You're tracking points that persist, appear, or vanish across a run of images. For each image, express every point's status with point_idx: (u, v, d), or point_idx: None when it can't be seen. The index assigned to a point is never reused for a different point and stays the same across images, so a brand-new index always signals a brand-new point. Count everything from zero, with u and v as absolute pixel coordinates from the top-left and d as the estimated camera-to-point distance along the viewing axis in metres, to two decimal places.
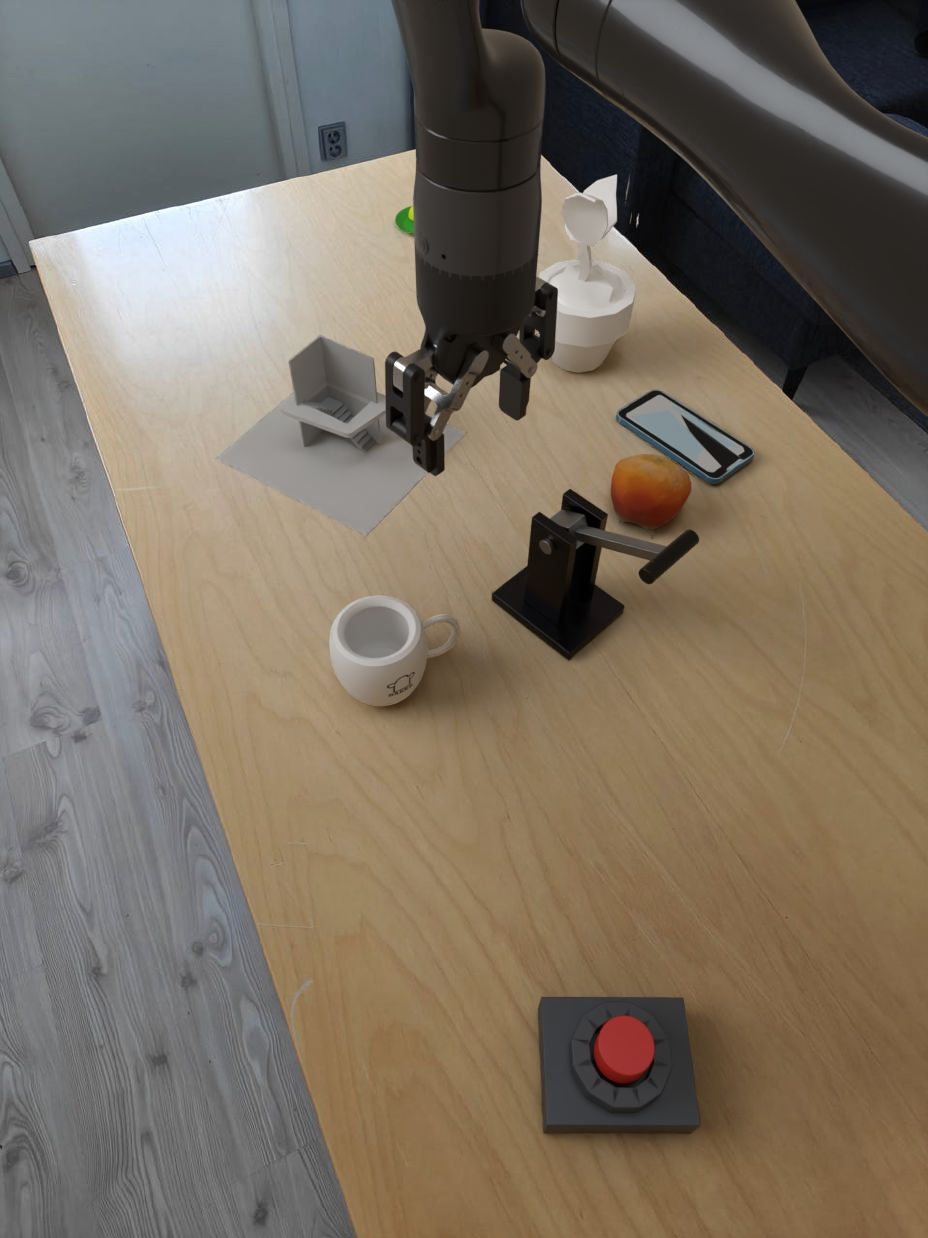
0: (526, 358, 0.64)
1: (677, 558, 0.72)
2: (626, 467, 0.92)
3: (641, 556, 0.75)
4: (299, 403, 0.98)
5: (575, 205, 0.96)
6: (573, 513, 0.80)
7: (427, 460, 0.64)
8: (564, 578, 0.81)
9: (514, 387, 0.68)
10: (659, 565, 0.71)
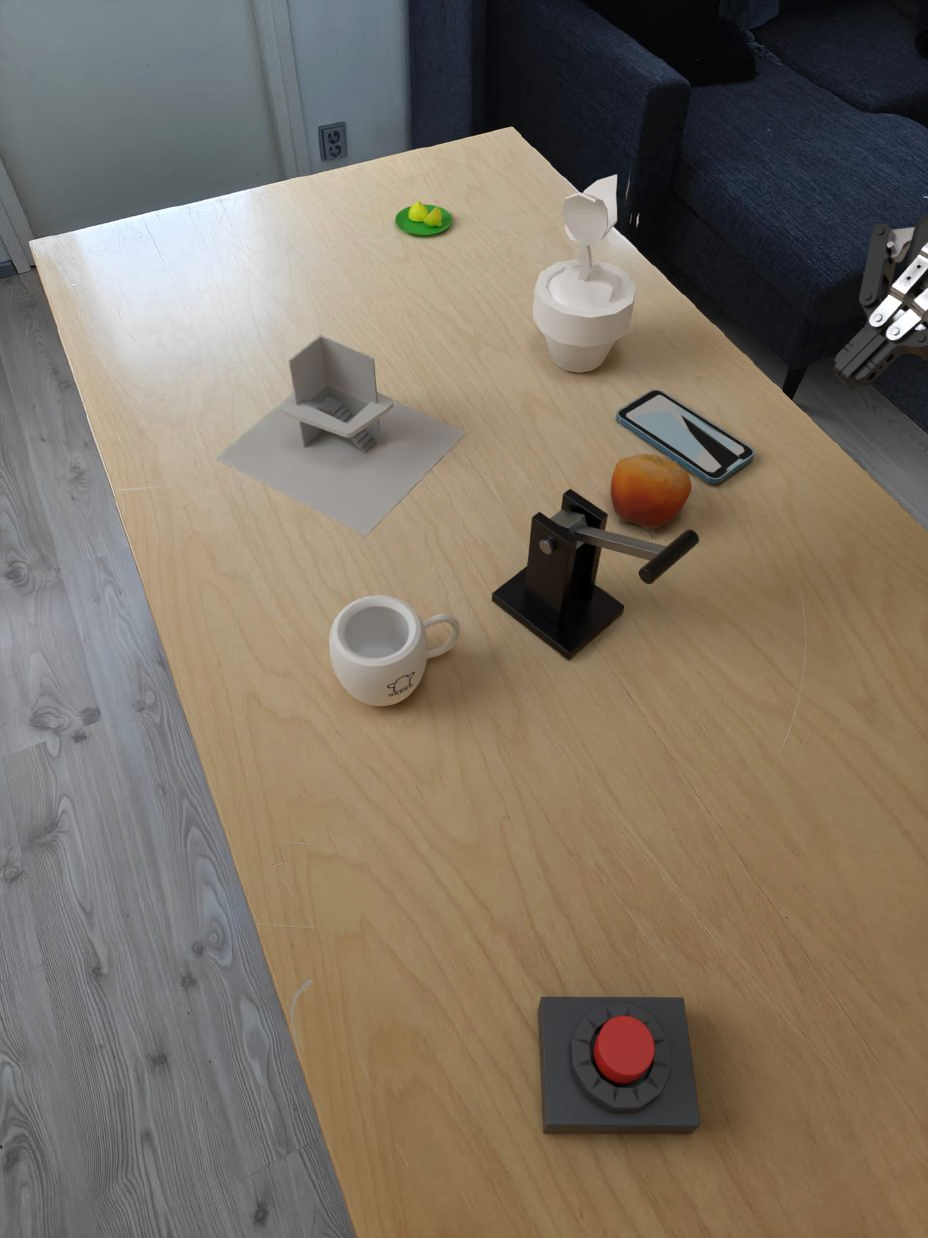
0: (925, 303, 0.62)
1: (677, 558, 0.72)
2: (626, 467, 0.92)
3: (641, 556, 0.75)
4: (299, 403, 0.98)
5: (575, 205, 0.96)
6: (573, 513, 0.80)
7: (847, 346, 0.66)
8: (564, 578, 0.81)
9: None
10: (659, 565, 0.71)
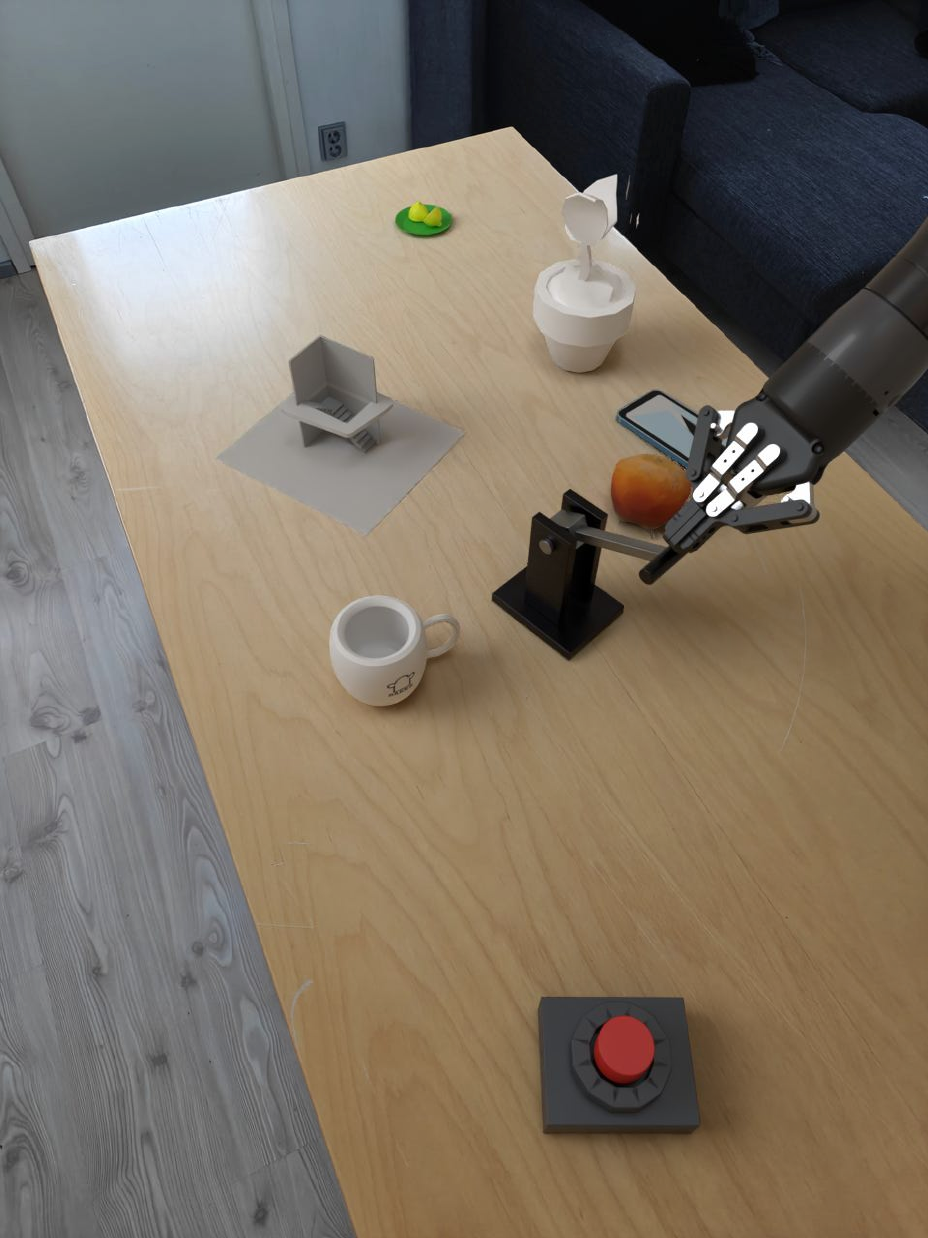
0: (737, 486, 0.68)
1: (677, 559, 0.73)
2: (626, 467, 0.92)
3: (641, 557, 0.75)
4: (299, 403, 0.98)
5: (575, 205, 0.96)
6: (573, 513, 0.80)
7: (675, 516, 0.71)
8: (564, 578, 0.81)
9: None
10: (659, 566, 0.72)
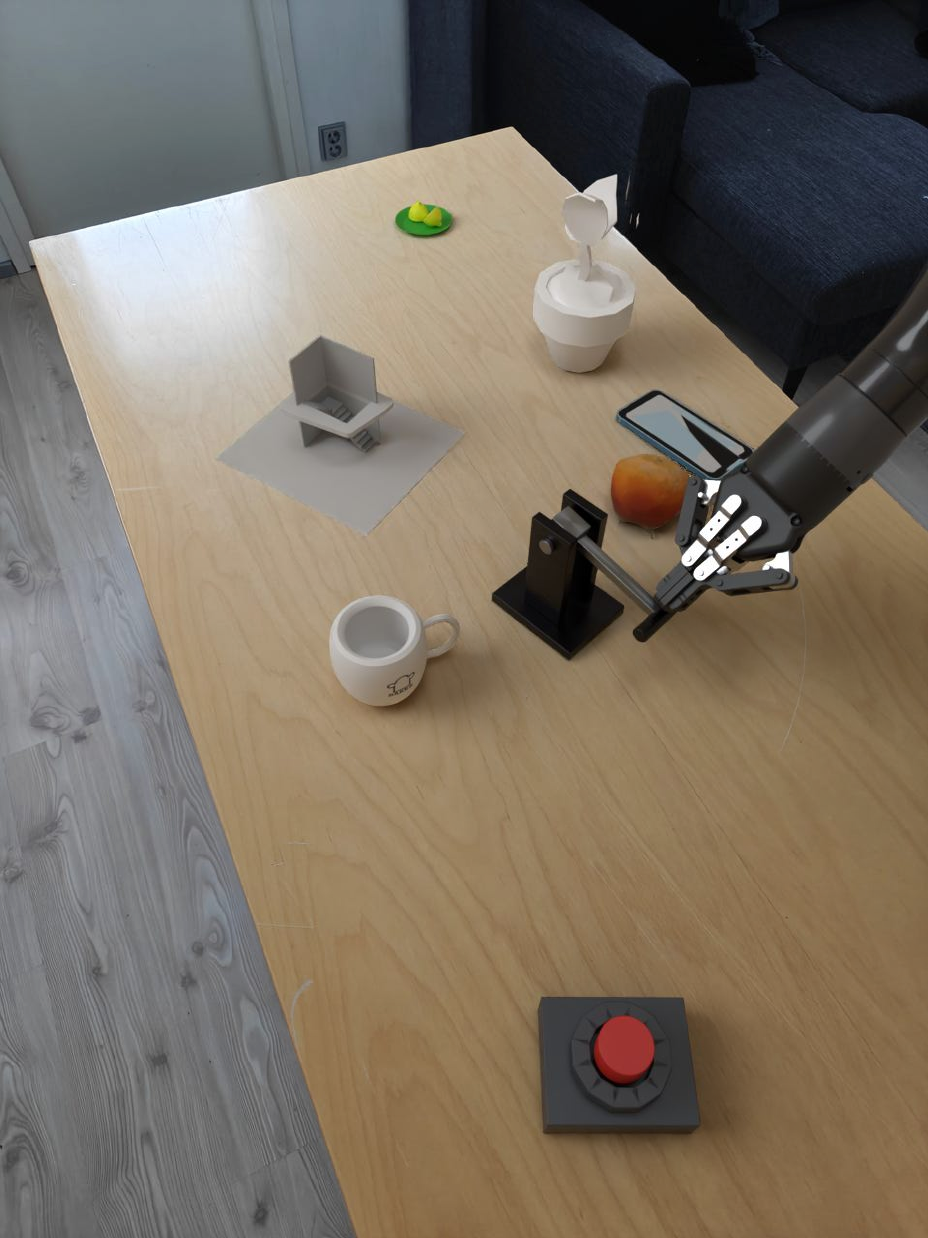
0: (722, 554, 0.73)
1: (667, 621, 0.78)
2: (626, 467, 0.92)
3: (634, 601, 0.79)
4: (299, 403, 0.98)
5: (575, 205, 0.96)
6: (580, 518, 0.80)
7: (665, 577, 0.77)
8: (564, 578, 0.81)
9: None
10: (654, 630, 0.77)
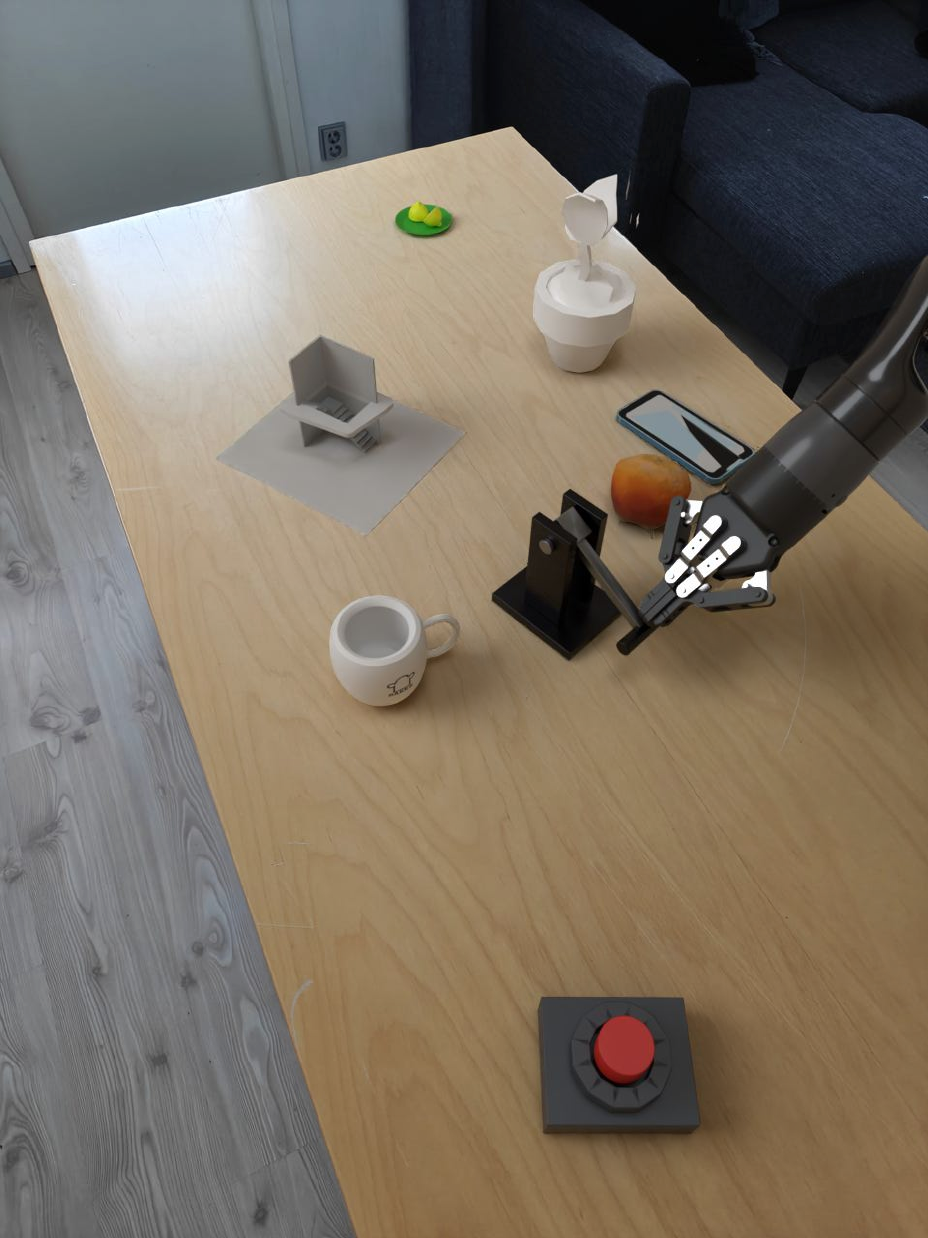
0: (703, 572, 0.76)
1: (649, 635, 0.81)
2: (626, 467, 0.92)
3: (621, 611, 0.81)
4: (299, 403, 0.98)
5: (575, 205, 0.96)
6: (582, 522, 0.80)
7: (649, 594, 0.80)
8: (564, 578, 0.81)
9: None
10: (637, 645, 0.80)
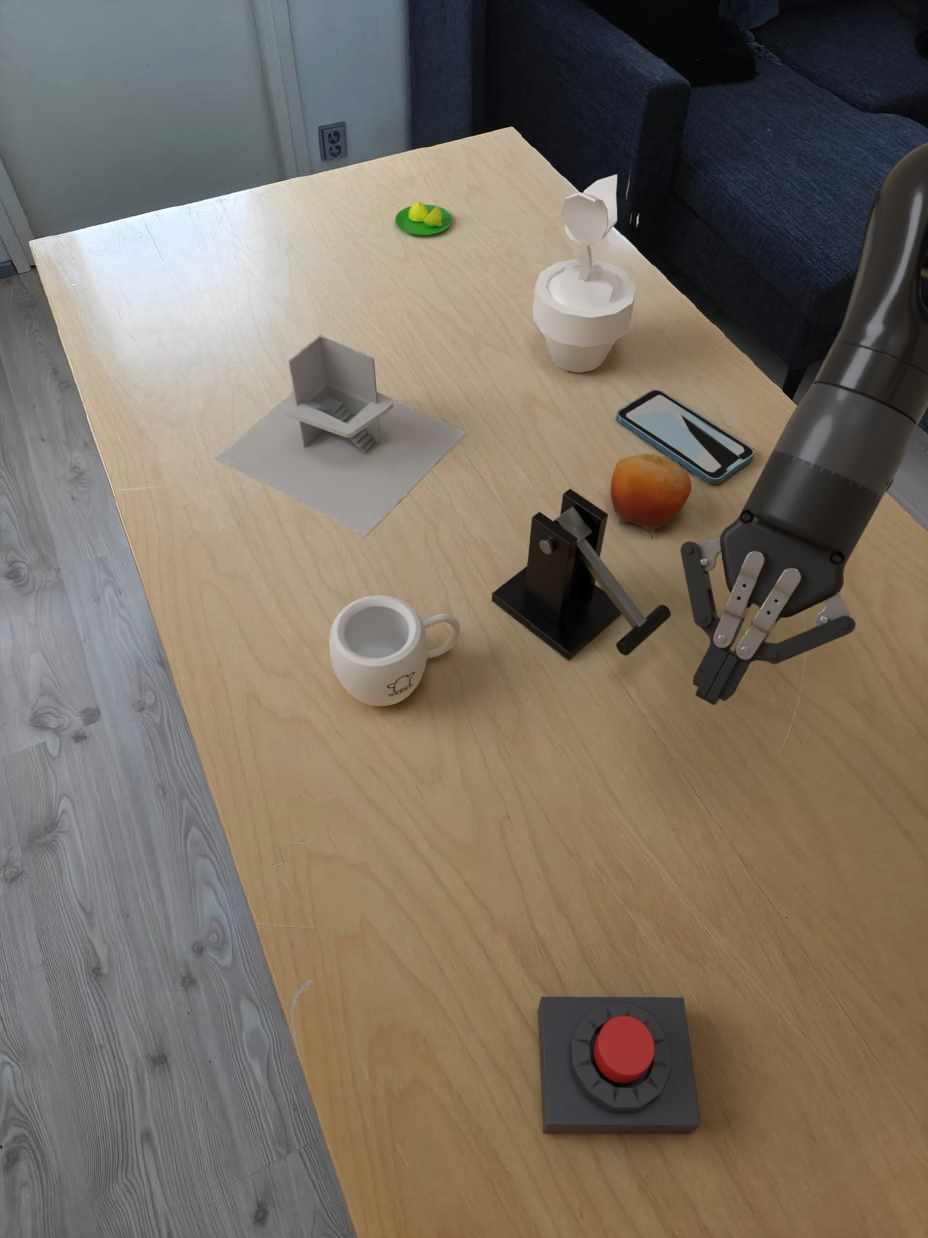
0: (765, 622, 0.61)
1: (648, 635, 0.81)
2: (626, 467, 0.92)
3: (621, 611, 0.81)
4: (299, 403, 0.98)
5: (575, 205, 0.96)
6: (582, 522, 0.80)
7: (699, 668, 0.64)
8: (564, 578, 0.81)
9: (725, 663, 0.63)
10: (637, 645, 0.80)
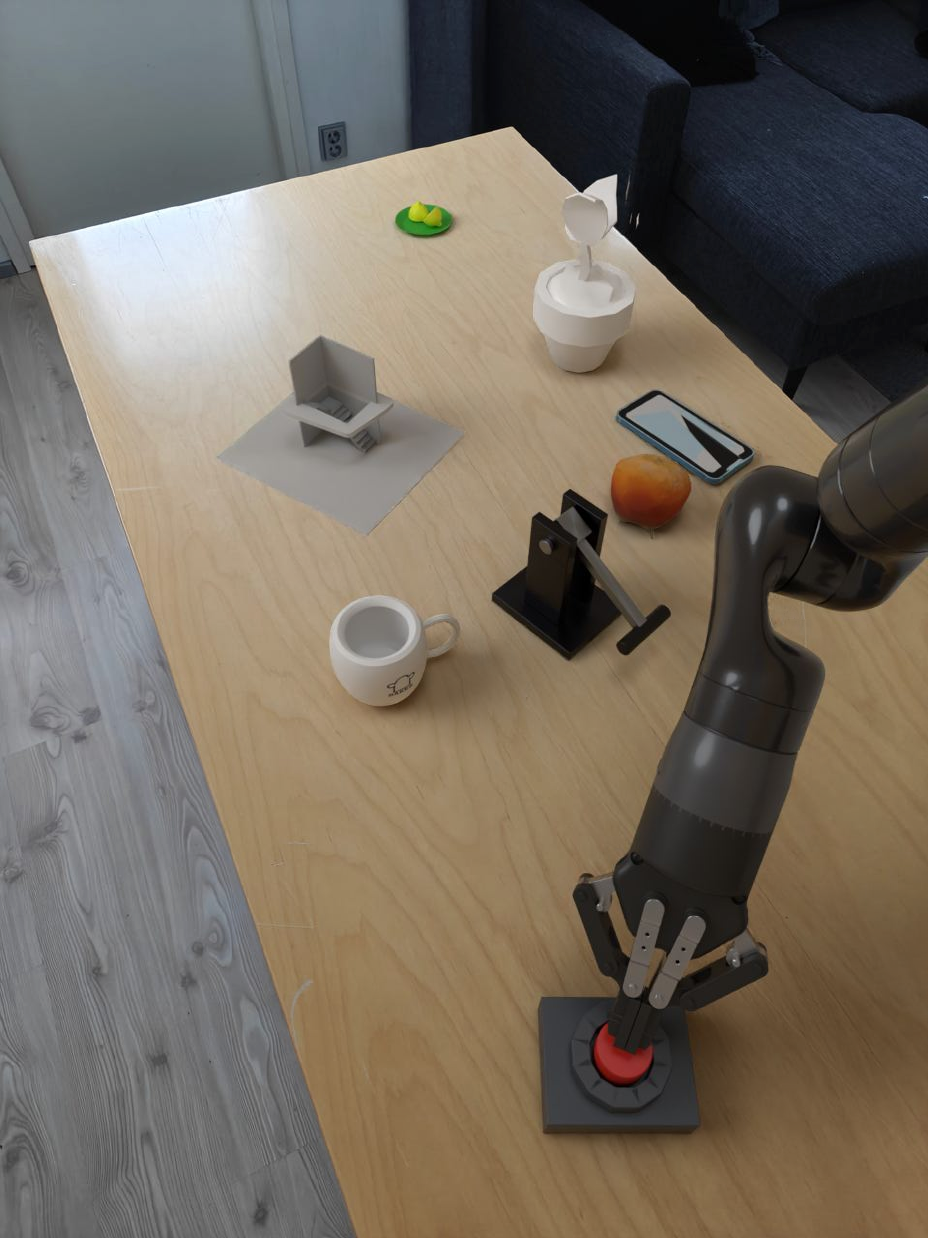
0: (676, 972, 0.56)
1: (648, 635, 0.81)
2: (626, 467, 0.92)
3: (621, 611, 0.81)
4: (299, 403, 0.98)
5: (575, 205, 0.96)
6: (582, 522, 0.80)
7: (613, 1016, 0.59)
8: (564, 578, 0.81)
9: (639, 1008, 0.58)
10: (637, 645, 0.80)
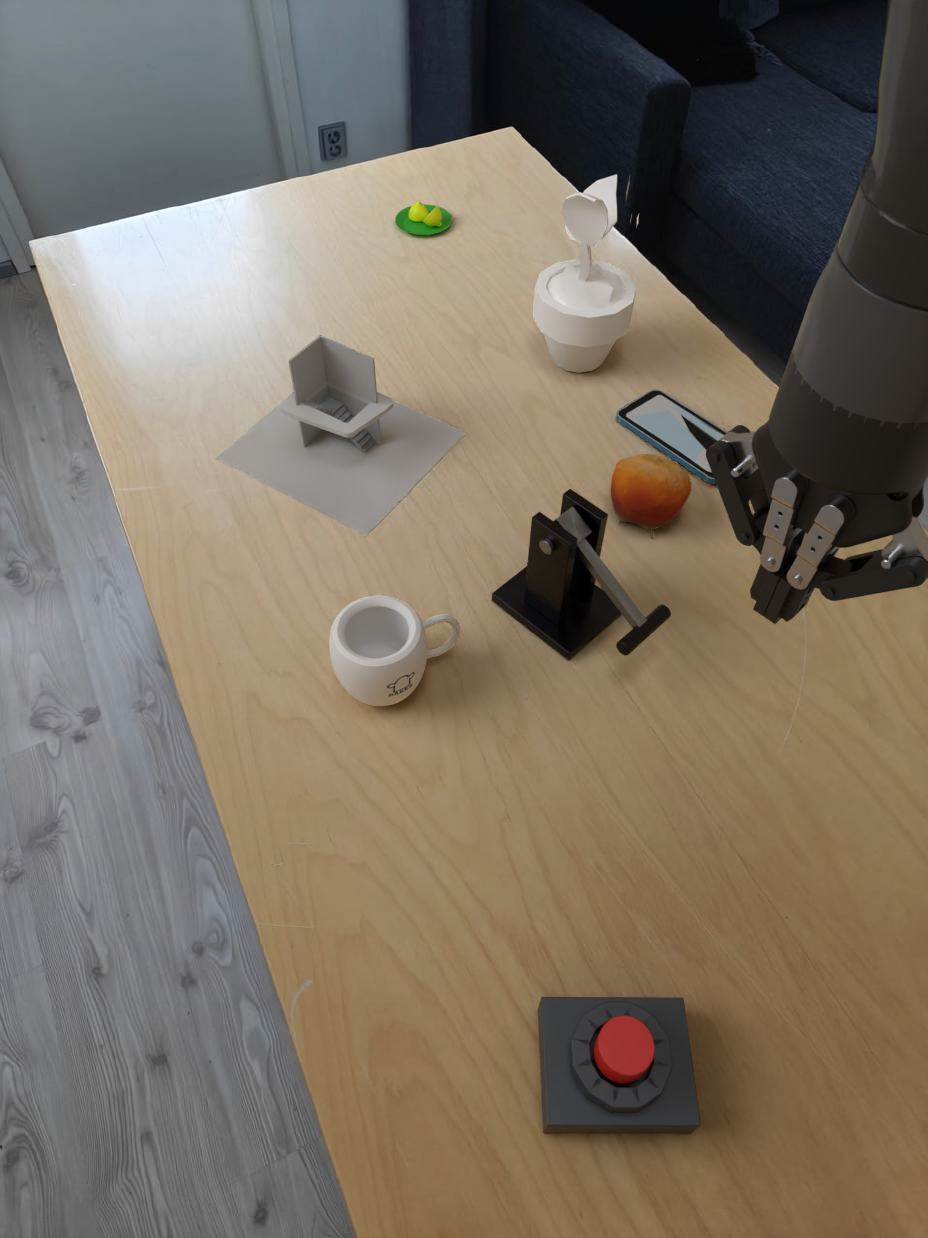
0: (811, 559, 0.46)
1: (648, 635, 0.81)
2: (626, 467, 0.92)
3: (621, 611, 0.81)
4: (299, 403, 0.98)
5: (575, 205, 0.96)
6: (582, 522, 0.80)
7: (755, 583, 0.52)
8: (564, 578, 0.81)
9: None
10: (637, 645, 0.80)
